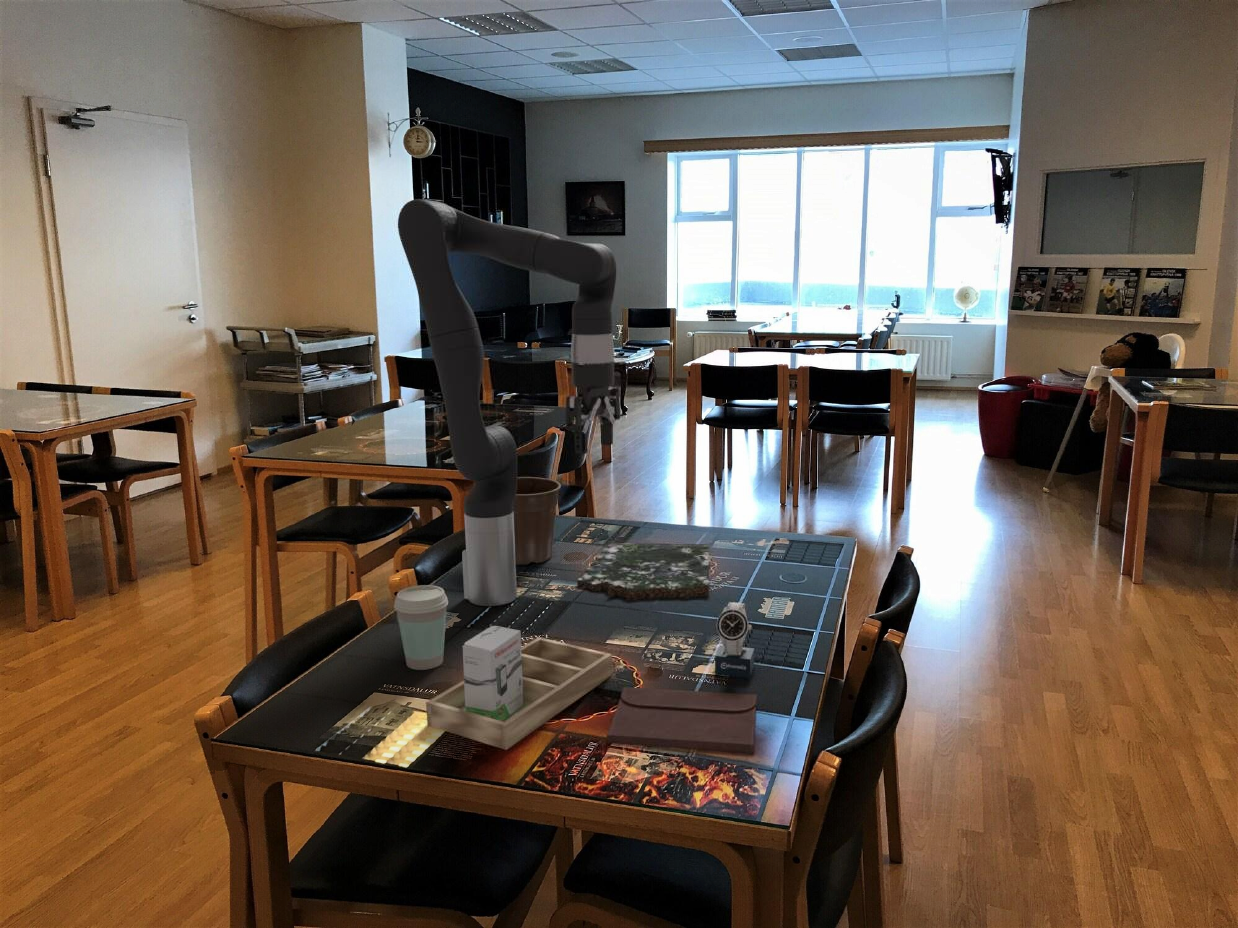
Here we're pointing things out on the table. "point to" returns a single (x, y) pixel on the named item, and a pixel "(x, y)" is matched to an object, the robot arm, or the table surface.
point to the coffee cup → (422, 625)
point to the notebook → (685, 720)
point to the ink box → (493, 673)
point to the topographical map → (650, 571)
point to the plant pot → (534, 519)
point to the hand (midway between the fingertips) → (594, 449)
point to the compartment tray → (526, 693)
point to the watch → (733, 643)
